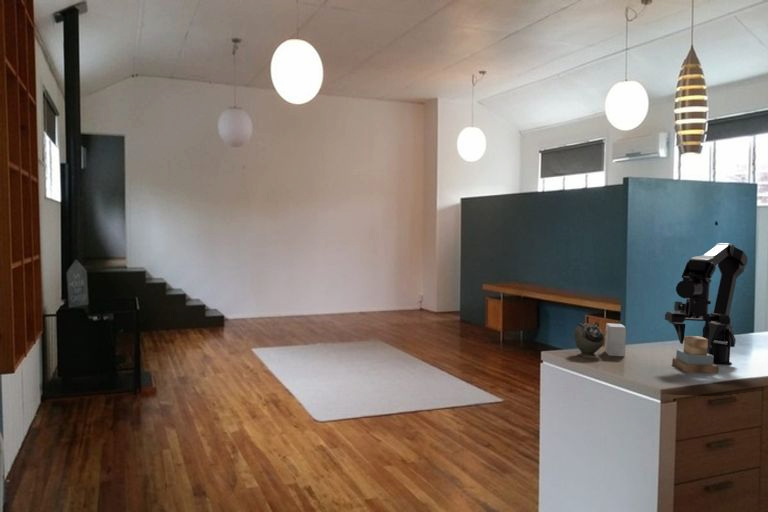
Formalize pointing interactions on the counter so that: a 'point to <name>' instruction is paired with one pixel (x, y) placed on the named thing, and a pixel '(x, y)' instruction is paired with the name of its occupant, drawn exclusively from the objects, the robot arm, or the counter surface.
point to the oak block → (695, 345)
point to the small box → (615, 339)
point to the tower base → (695, 367)
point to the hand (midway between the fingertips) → (695, 344)
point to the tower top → (694, 358)
